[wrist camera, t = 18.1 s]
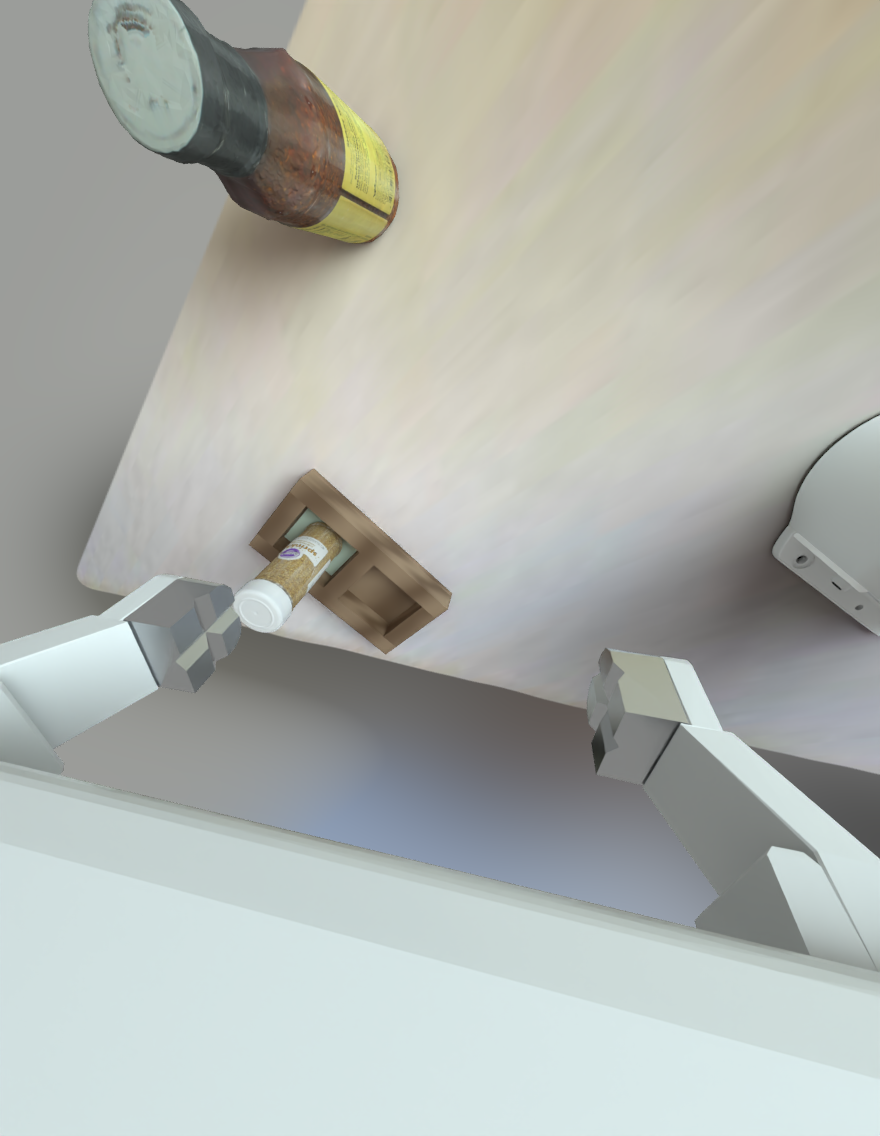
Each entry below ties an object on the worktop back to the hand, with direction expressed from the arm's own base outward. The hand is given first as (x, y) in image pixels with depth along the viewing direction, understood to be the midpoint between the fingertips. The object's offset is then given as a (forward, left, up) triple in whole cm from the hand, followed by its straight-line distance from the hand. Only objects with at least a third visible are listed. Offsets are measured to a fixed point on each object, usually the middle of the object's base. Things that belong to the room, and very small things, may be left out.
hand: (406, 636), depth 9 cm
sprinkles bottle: (+2, +23, -31) cm, 39 cm away
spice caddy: (-2, +23, -31) cm, 39 cm away
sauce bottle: (+17, -2, -31) cm, 36 cm away
